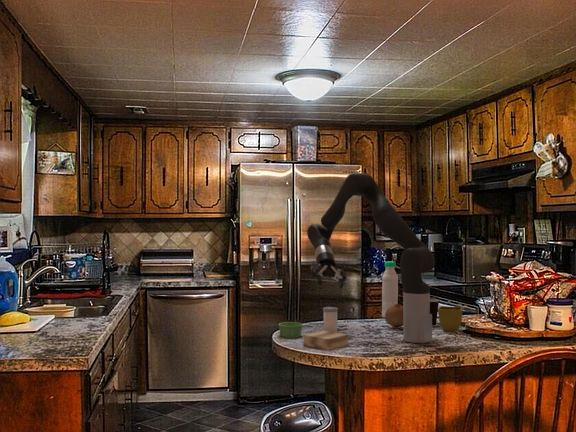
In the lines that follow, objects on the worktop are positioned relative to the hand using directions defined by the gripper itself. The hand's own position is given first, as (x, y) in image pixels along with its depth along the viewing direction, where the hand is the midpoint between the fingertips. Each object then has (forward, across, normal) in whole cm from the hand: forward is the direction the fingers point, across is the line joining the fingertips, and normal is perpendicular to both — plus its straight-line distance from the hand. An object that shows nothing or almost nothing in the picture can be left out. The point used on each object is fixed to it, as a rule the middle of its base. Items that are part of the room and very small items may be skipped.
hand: (331, 285), depth 216 cm
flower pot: (+15, +48, +1) cm, 50 cm away
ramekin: (+17, -15, +13) cm, 26 cm away
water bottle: (-11, +38, +23) cm, 46 cm away
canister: (+22, -2, +6) cm, 23 cm away
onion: (+9, +30, +9) cm, 33 cm away
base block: (+31, -7, 0) cm, 31 cm away
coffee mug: (+2, +47, +11) cm, 49 cm away
